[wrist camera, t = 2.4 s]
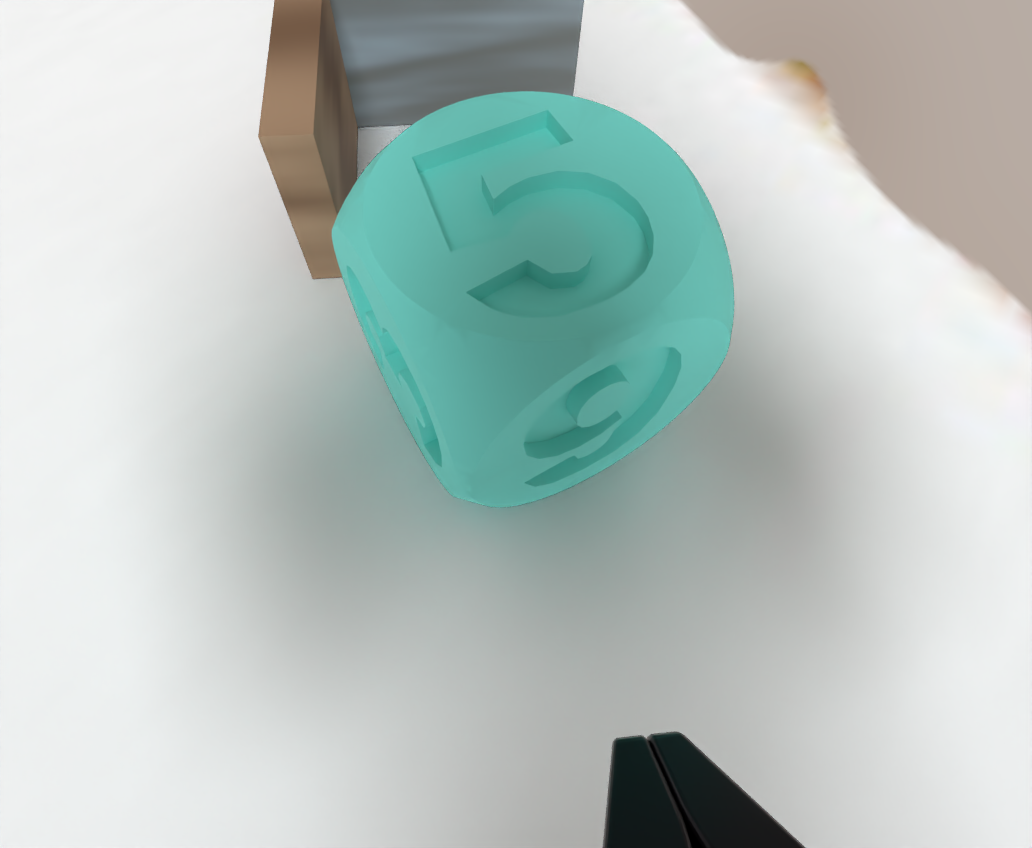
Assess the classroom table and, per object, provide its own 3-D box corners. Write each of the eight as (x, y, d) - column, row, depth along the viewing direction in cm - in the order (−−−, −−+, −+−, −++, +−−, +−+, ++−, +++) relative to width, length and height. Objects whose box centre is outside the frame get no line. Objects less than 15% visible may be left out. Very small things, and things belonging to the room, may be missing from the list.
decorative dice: (562, 259, 24) (590, 51, 17) (688, 428, 21) (787, 259, 14) (362, 343, 22) (299, 147, 15) (468, 542, 19) (452, 414, 12)
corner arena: (600, 261, 24) (629, 119, 19) (312, 278, 23) (258, 136, 18) (565, 94, 28) (581, -60, 23) (322, 104, 28) (280, -52, 22)
